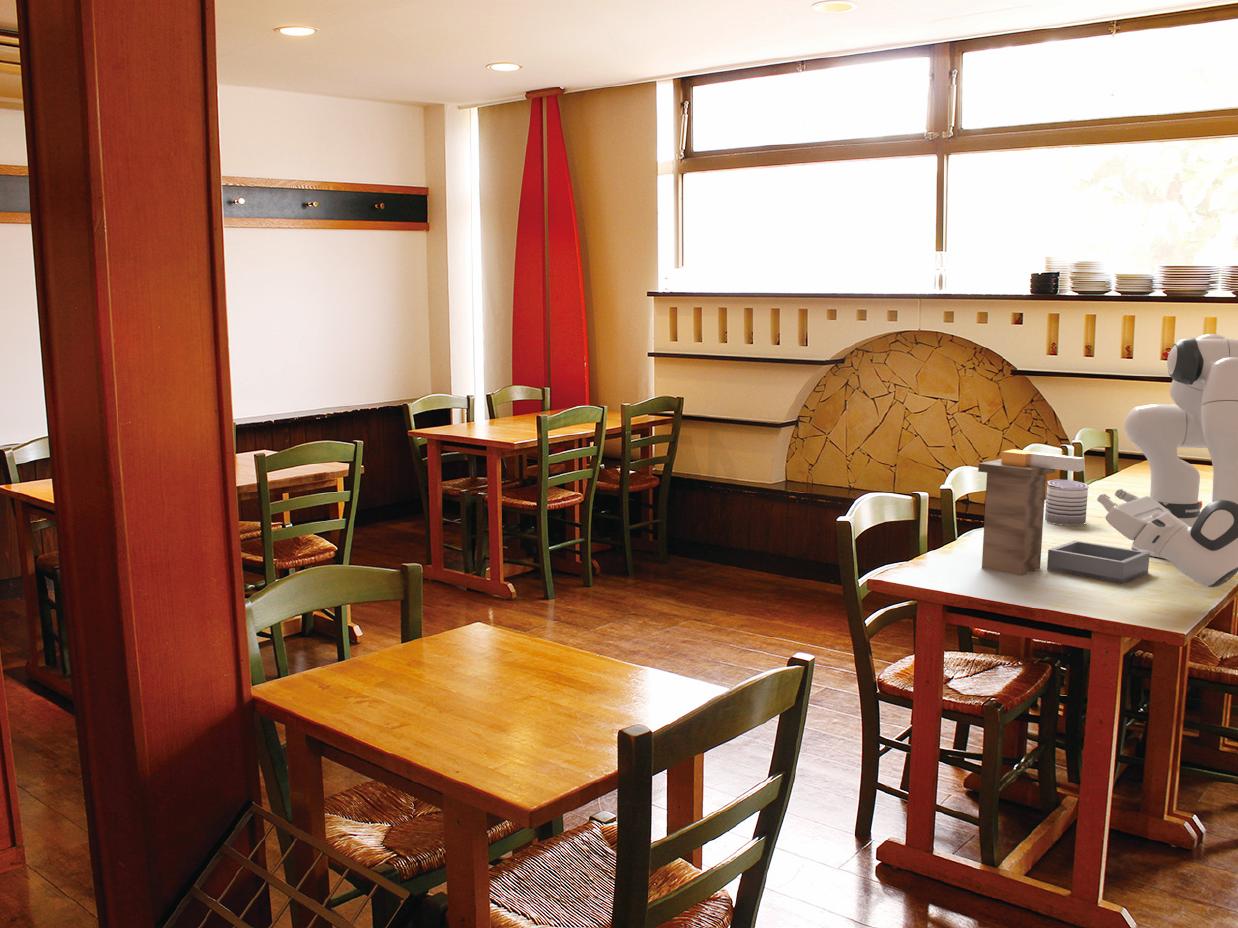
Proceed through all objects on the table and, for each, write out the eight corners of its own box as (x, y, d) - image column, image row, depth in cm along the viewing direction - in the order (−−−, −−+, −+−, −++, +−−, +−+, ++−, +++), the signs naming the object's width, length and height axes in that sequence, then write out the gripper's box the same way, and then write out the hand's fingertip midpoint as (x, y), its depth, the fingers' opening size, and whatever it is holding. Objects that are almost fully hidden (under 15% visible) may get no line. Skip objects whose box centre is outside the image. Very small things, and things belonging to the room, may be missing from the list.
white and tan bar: (1001, 463, 255) (1002, 451, 255) (1013, 461, 259) (1013, 449, 259) (1075, 472, 242) (1076, 459, 241) (1086, 469, 246) (1087, 457, 246)
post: (998, 559, 268) (1004, 458, 264) (1048, 568, 259) (1055, 464, 255) (973, 567, 259) (978, 463, 256) (1023, 577, 250) (1030, 469, 246)
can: (1080, 519, 320) (1083, 480, 318) (1090, 526, 309) (1093, 486, 307) (1040, 517, 322) (1043, 478, 320) (1049, 525, 311) (1051, 485, 309)
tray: (1074, 559, 268) (1075, 540, 267) (1148, 572, 255) (1149, 552, 254) (1047, 569, 258) (1048, 549, 257) (1122, 583, 245) (1124, 562, 244)
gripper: (1187, 514, 238) (1135, 477, 245) (1152, 527, 224) (1097, 488, 232) (1171, 535, 241) (1119, 498, 248) (1134, 550, 227) (1081, 510, 235)
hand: (1108, 493), depth 240 cm, fingers open, 8 cm apart
